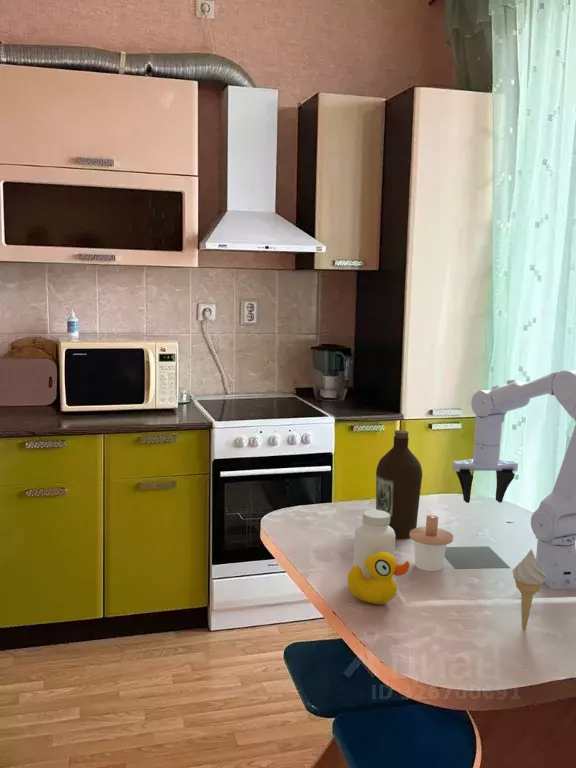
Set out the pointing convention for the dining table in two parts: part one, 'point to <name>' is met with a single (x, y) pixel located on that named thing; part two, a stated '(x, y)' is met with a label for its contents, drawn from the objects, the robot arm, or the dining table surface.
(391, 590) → the duckling
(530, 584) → the ice cream cone
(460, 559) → the mat
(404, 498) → the olive oil
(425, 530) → the lid
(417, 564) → the white cup
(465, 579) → the dining table surface
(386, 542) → the pill bottle
